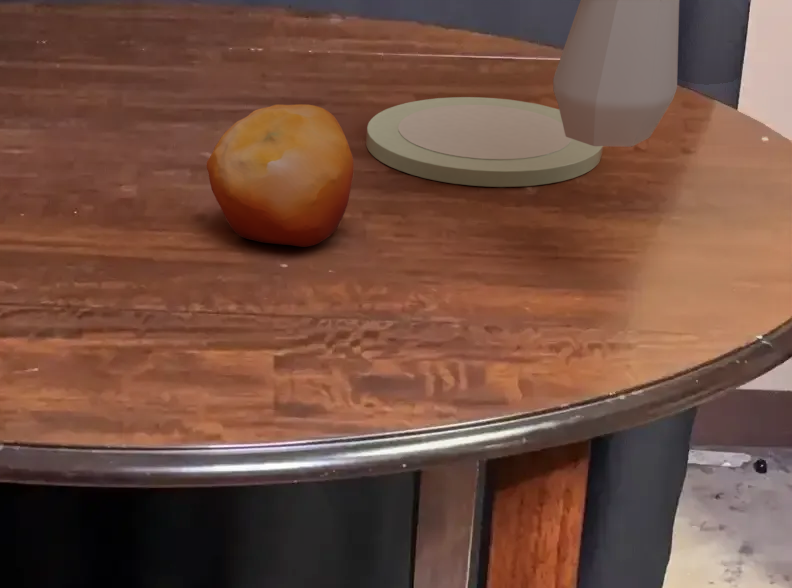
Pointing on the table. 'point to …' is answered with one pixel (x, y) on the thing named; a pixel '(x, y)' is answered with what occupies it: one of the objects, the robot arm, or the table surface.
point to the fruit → (283, 175)
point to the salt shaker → (618, 70)
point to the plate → (479, 142)
